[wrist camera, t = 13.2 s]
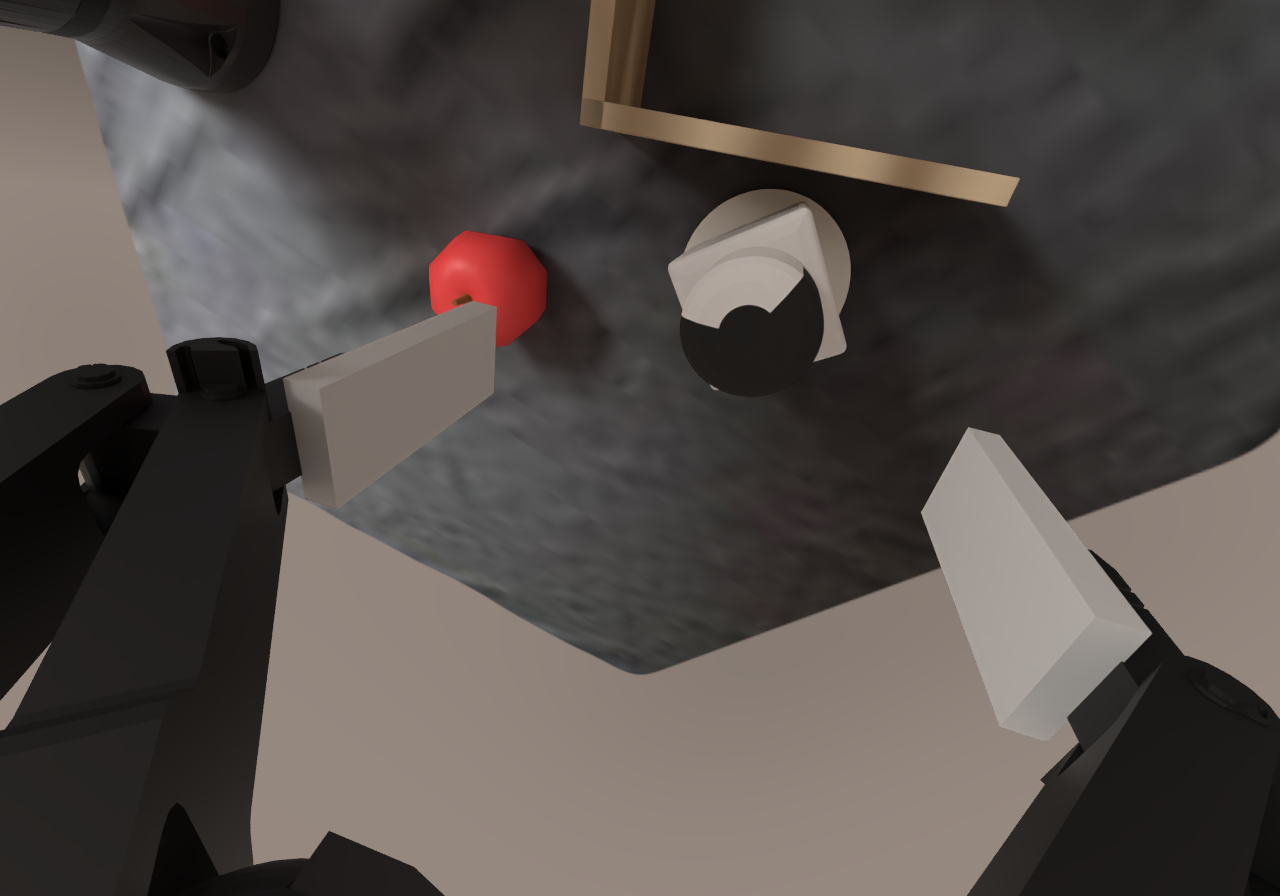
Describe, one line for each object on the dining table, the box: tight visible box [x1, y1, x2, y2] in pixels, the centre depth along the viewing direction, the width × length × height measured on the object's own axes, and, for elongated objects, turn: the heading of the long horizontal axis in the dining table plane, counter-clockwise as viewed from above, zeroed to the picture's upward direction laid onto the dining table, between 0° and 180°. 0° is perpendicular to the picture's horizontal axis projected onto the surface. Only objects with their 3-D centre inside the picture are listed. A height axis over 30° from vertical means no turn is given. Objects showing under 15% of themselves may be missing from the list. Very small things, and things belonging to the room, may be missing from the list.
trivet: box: [684, 189, 851, 314], centre depth 35 cm, size 11×11×1 cm
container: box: [668, 201, 846, 397], centre depth 29 cm, size 8×8×13 cm
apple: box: [429, 230, 547, 347], centre depth 36 cm, size 8×8×8 cm
